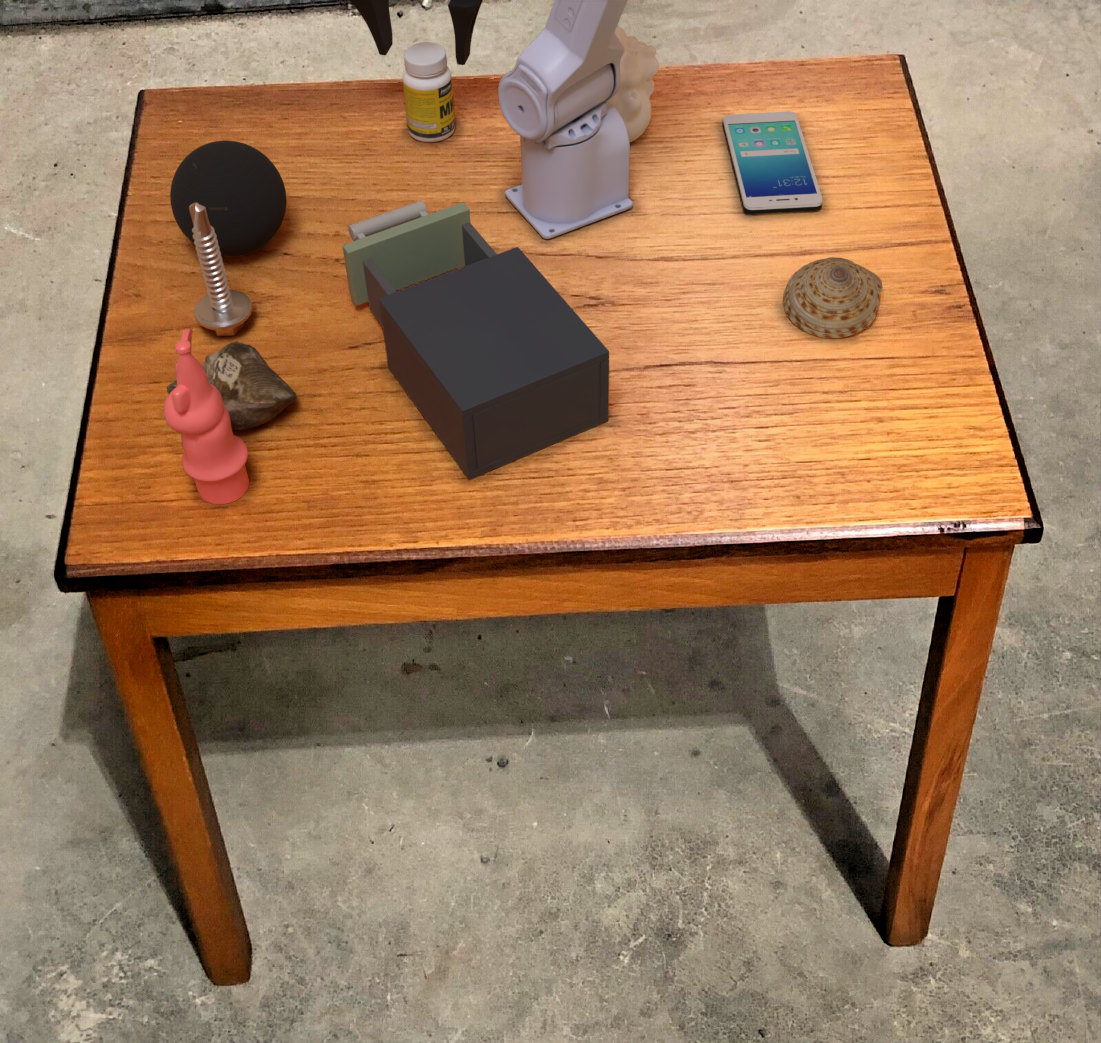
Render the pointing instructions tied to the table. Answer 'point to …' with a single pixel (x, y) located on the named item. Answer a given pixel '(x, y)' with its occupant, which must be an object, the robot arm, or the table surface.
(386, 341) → the cabinet
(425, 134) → the supplement bottle
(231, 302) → the screw
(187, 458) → the figurine
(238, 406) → the fossilized seashell
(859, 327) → the seashell
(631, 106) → the figurine
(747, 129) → the smartphone
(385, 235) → the drawer
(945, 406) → the table surface
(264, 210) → the speaker
